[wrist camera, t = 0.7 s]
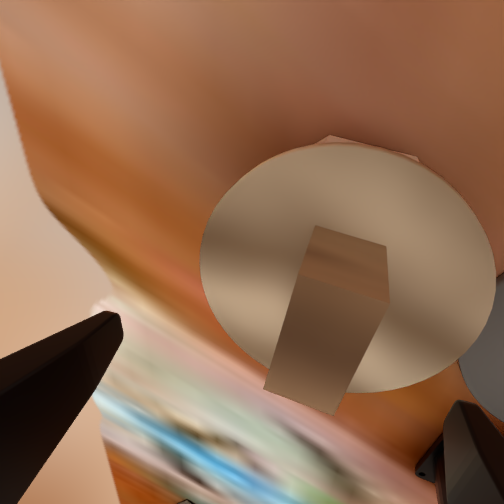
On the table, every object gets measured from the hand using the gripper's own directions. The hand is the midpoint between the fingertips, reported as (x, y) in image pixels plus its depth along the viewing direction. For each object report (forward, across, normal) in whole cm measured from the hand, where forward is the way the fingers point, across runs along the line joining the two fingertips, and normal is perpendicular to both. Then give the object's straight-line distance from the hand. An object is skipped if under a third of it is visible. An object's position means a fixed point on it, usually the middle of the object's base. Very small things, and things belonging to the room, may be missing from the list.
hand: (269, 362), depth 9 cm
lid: (+8, -1, +2) cm, 9 cm away
